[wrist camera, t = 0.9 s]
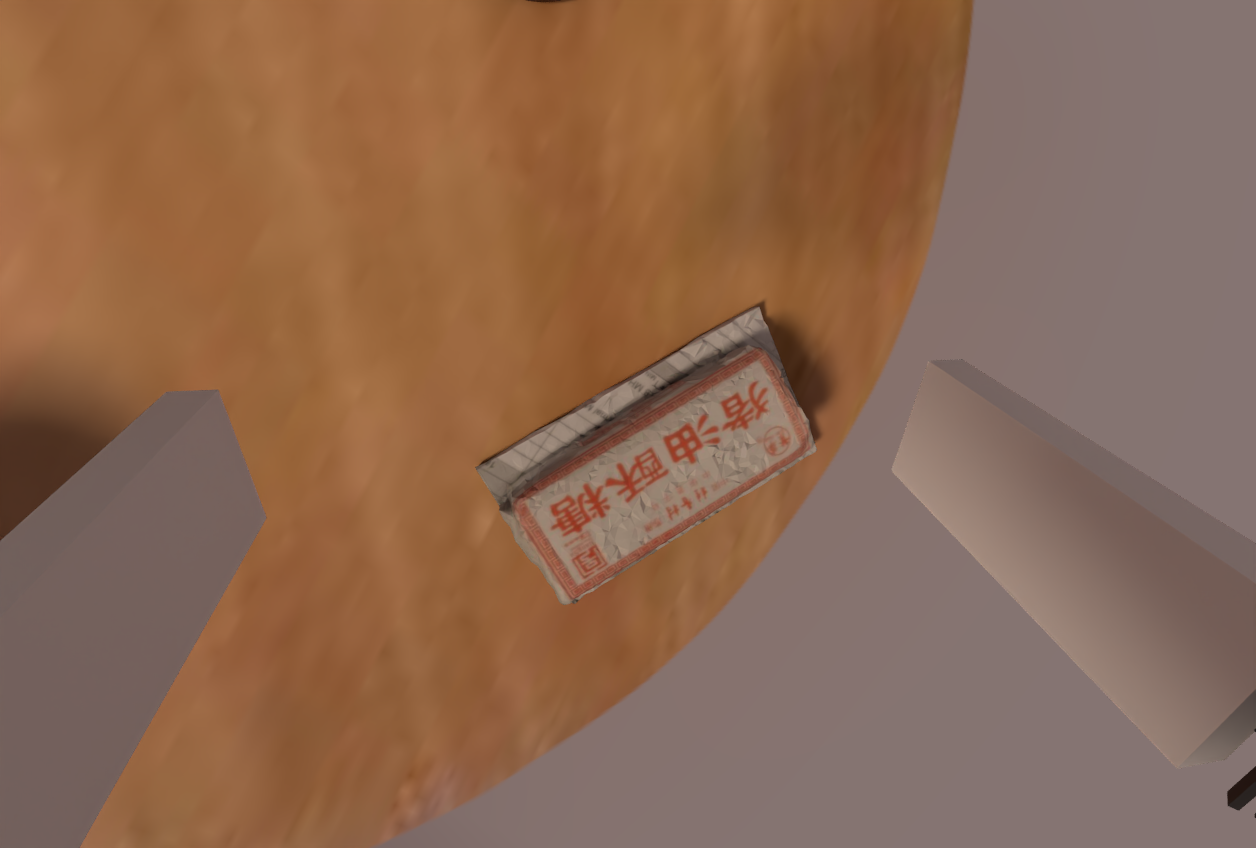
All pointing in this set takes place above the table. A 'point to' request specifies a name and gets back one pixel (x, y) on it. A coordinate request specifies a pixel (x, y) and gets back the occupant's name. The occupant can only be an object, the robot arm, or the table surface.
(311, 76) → the table surface
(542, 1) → the ink bottle
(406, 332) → the table surface
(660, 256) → the table surface
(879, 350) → the table surface
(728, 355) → the packaged product
